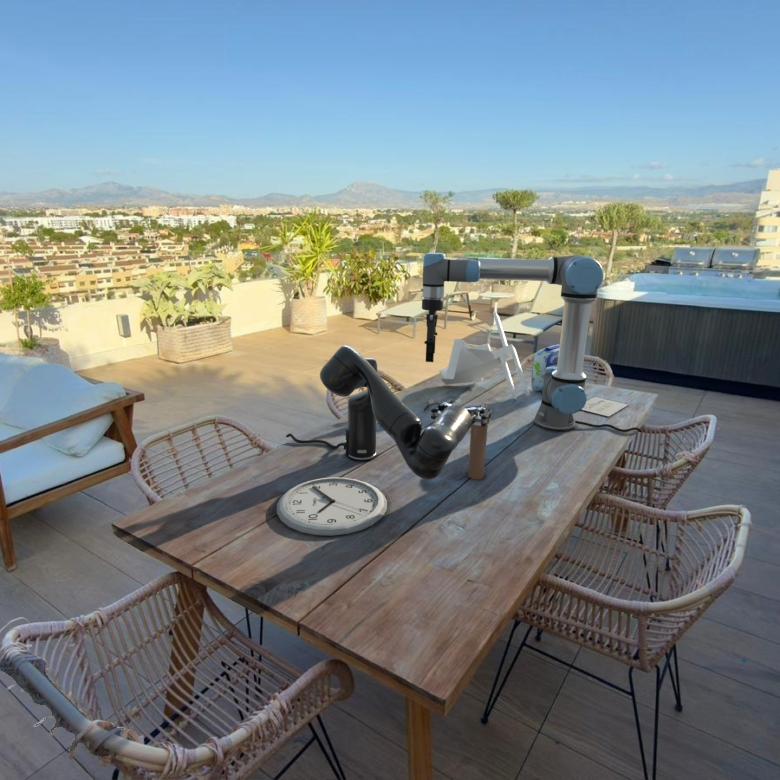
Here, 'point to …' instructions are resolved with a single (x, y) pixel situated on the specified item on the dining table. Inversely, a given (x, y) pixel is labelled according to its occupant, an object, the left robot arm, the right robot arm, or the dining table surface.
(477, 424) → the lid
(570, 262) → the right robot arm
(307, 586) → the dining table surface
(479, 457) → the brown tube
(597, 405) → the invitation card
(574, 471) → the dining table surface
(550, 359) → the lunch box
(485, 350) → the white plastic object
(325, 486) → the wall clock
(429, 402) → the fork
